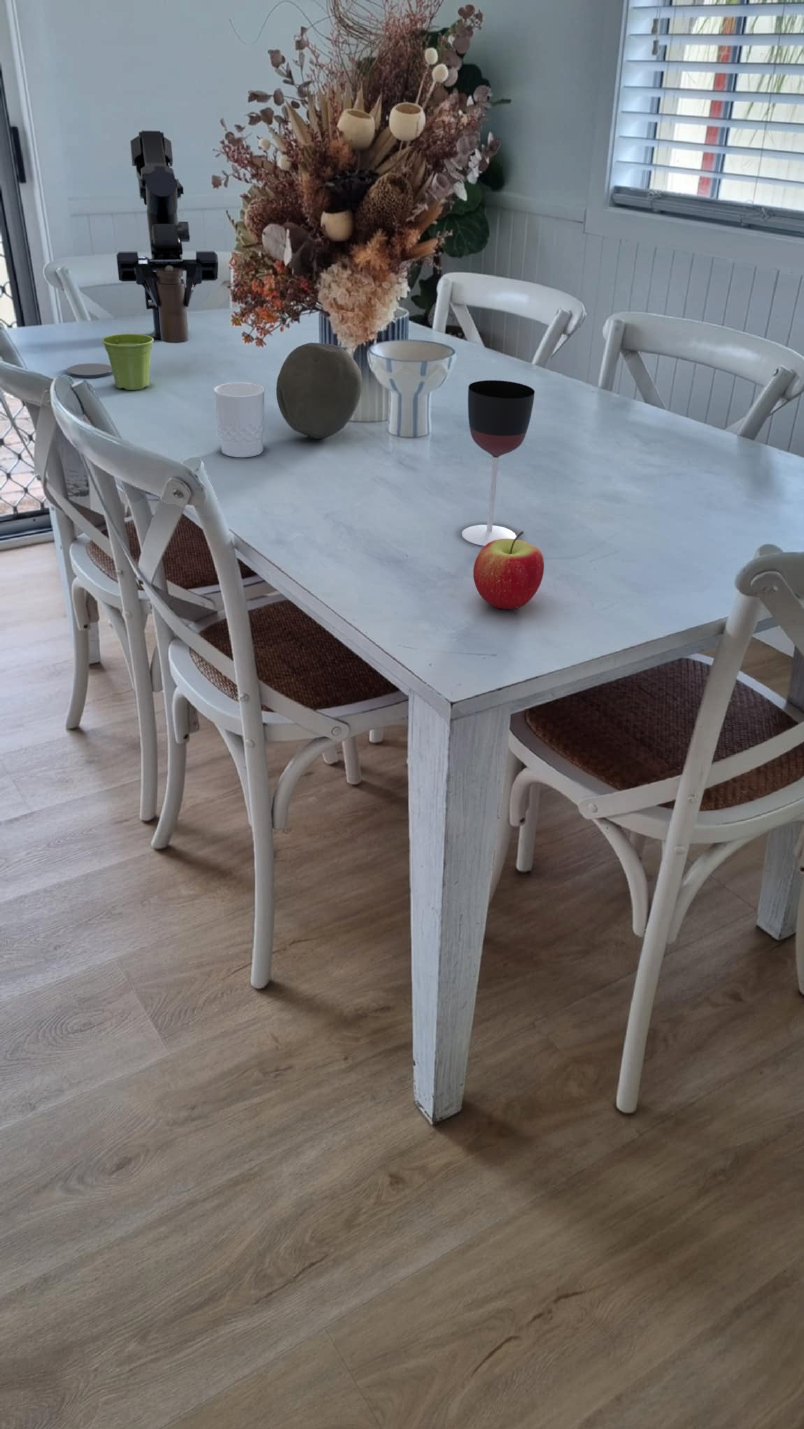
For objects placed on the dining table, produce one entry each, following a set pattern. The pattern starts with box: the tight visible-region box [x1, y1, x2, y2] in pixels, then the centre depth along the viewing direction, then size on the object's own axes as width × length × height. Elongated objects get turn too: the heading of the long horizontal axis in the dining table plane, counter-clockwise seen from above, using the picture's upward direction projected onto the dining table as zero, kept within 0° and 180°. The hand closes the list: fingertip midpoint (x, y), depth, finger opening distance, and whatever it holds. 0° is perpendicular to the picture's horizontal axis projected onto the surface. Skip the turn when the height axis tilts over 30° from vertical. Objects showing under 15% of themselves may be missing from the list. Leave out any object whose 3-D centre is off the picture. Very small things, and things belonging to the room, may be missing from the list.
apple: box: [472, 530, 545, 610], centre depth 126 cm, size 8×8×10 cm
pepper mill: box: [156, 265, 190, 344], centre depth 202 cm, size 5×5×14 cm
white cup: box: [213, 381, 265, 458], centre depth 170 cm, size 8×8×10 cm
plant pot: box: [101, 333, 155, 391], centre depth 199 cm, size 9×9×9 cm
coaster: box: [66, 362, 113, 379], centre depth 209 cm, size 9×9×1 cm
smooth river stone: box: [275, 342, 363, 440], centre depth 176 cm, size 14×14×15 cm
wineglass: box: [461, 379, 536, 547], centre depth 141 cm, size 8×9×20 cm
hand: (172, 305), depth 201 cm, fingers closed on pepper mill, 5 cm apart
